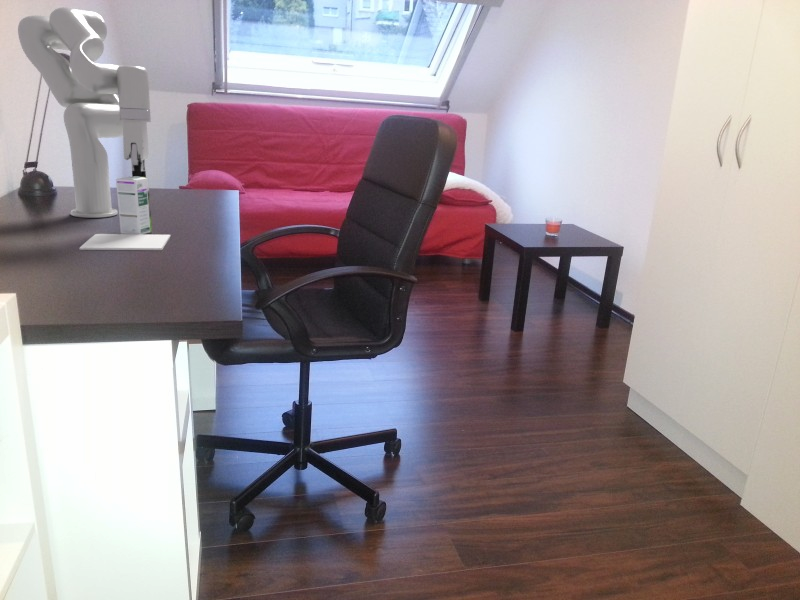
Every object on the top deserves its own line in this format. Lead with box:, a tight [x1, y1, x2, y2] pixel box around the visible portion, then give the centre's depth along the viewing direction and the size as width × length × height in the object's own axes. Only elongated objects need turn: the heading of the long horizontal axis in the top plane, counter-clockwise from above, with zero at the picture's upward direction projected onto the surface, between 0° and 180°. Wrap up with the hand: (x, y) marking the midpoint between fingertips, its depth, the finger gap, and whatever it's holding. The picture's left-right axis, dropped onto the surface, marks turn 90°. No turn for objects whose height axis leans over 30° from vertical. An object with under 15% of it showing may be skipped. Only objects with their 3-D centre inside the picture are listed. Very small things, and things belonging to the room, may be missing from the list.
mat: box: [78, 233, 171, 251], centre depth 158 cm, size 16×18×1 cm
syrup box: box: [115, 176, 153, 234], centre depth 167 cm, size 6×6×14 cm
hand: (139, 185), depth 175 cm, fingers closed
